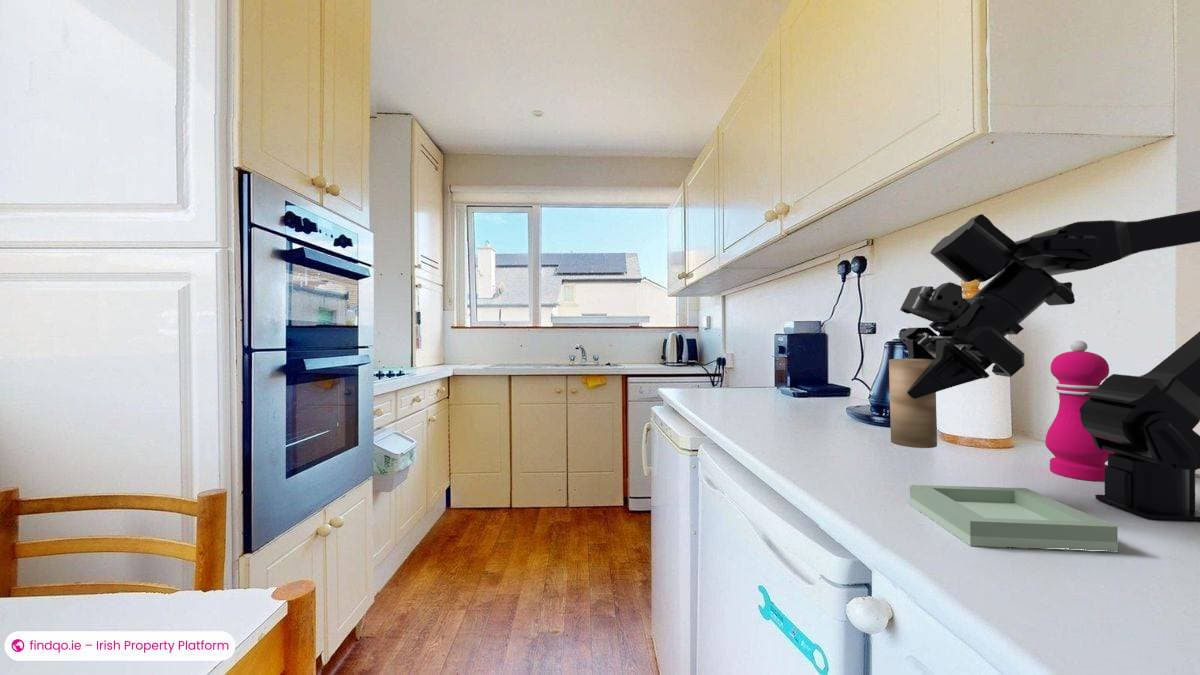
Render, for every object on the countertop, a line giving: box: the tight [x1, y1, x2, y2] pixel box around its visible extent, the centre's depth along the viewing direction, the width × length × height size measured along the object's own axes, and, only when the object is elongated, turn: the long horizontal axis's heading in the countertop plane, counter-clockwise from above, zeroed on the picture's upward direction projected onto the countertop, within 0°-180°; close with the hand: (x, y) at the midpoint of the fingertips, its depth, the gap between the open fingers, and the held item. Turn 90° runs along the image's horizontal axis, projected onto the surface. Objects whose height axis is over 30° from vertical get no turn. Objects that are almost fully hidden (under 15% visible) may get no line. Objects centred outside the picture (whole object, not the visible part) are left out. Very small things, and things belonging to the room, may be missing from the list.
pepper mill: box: [1044, 340, 1114, 482], centre depth 67 cm, size 7×7×20 cm
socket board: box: [909, 484, 1119, 551], centre depth 50 cm, size 13×11×2 cm
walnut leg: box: [888, 358, 938, 449], centre depth 59 cm, size 5×5×11 cm
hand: (901, 393), depth 60 cm, fingers closed on walnut leg, 5 cm apart
